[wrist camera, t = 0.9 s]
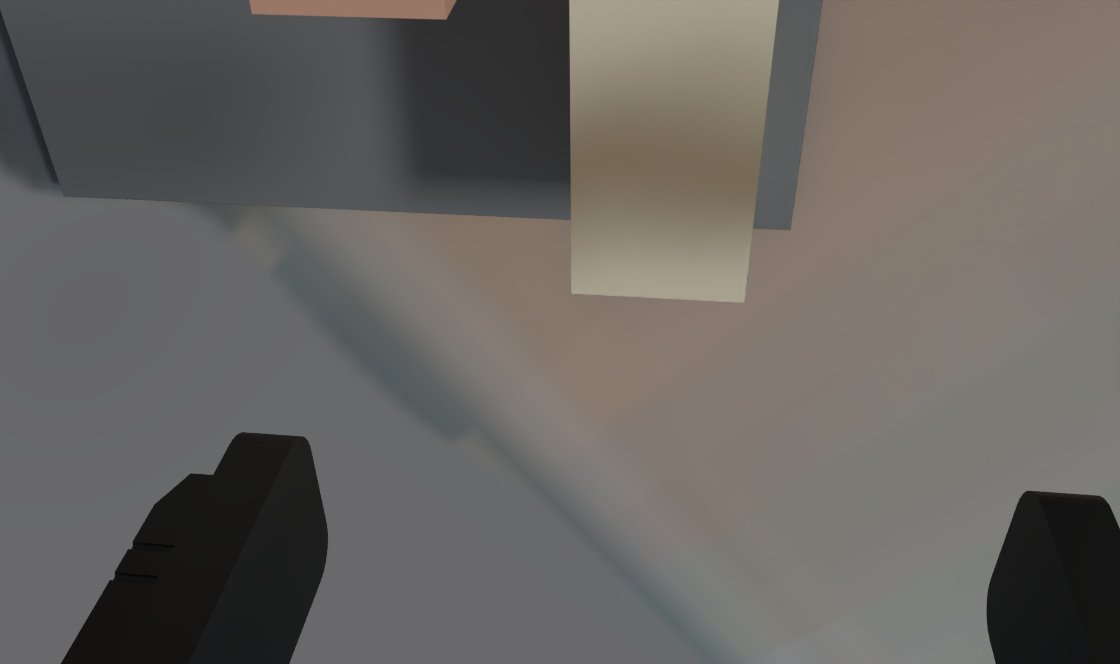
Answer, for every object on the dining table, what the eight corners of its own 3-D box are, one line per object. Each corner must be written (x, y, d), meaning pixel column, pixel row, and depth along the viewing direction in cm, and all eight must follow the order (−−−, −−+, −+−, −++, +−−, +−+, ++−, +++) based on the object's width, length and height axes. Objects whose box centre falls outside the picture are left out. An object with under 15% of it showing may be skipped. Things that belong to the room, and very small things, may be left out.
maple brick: (593, -84, 21) (569, -8, 17) (766, -81, 20) (779, -2, 17) (591, 183, 24) (571, 293, 21) (738, 190, 24) (743, 302, 20)
